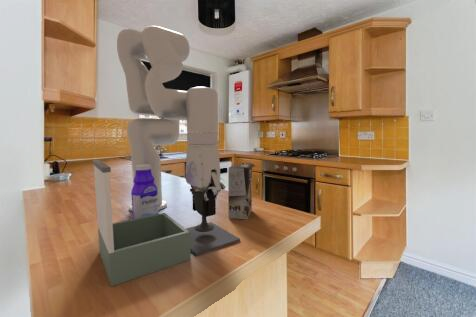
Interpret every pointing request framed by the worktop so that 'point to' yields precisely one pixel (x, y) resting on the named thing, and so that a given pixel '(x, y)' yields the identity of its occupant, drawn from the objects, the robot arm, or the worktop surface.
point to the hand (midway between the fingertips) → (203, 211)
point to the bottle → (144, 193)
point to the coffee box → (240, 191)
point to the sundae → (201, 209)
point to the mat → (210, 239)
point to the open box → (135, 237)
